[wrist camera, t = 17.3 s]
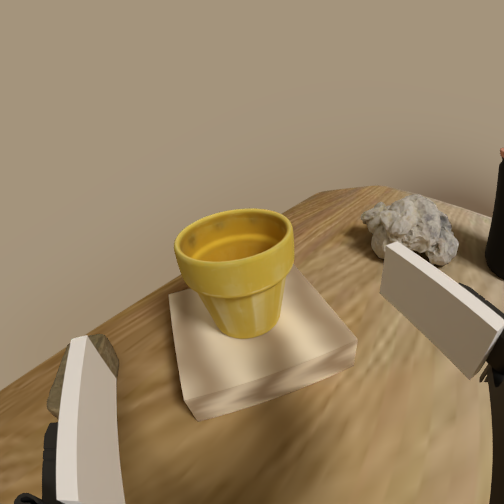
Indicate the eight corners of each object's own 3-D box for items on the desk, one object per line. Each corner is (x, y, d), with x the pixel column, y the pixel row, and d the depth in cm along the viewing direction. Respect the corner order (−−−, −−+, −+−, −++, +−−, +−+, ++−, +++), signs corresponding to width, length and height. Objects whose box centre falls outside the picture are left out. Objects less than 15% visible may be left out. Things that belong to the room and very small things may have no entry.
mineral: (386, 209, 51) (371, 169, 45) (468, 232, 37) (466, 187, 31) (354, 260, 49) (333, 222, 43) (441, 295, 35) (438, 256, 29)
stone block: (123, 357, 32) (105, 329, 29) (111, 438, 22) (84, 413, 19) (86, 361, 31) (67, 334, 29) (68, 436, 21) (40, 411, 19)
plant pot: (309, 290, 32) (304, 207, 27) (283, 363, 24) (270, 268, 19) (225, 281, 36) (207, 207, 31) (182, 341, 28) (148, 258, 23)
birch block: (197, 421, 23) (184, 400, 21) (177, 318, 37) (168, 294, 35) (353, 365, 26) (357, 339, 24) (291, 283, 40) (289, 259, 38)
